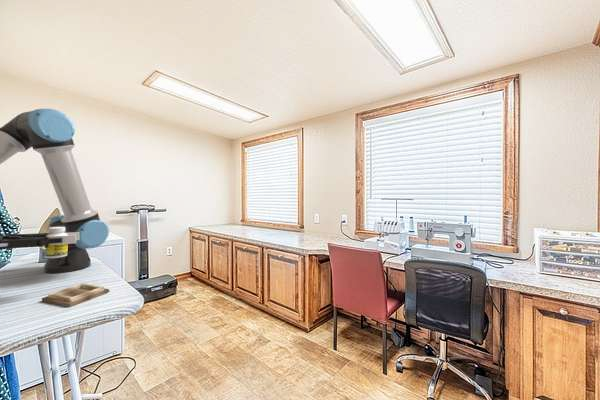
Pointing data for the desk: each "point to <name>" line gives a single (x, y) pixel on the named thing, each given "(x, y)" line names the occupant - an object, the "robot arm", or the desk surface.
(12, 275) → the desk surface
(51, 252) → the supplement bottle
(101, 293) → the walnut board
